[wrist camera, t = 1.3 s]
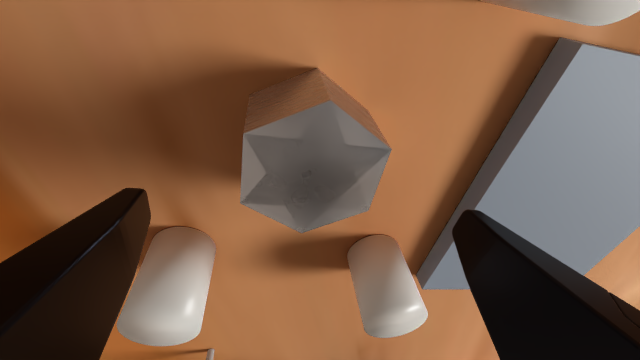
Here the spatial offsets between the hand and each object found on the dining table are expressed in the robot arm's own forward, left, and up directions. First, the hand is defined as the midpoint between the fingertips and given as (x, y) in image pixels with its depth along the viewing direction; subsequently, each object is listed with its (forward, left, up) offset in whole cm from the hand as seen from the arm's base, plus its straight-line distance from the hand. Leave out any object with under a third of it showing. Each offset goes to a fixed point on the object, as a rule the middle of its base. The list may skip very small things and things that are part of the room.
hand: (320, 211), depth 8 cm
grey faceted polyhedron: (0, 0, -4) cm, 5 cm away
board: (-2, -14, -4) cm, 15 cm away
